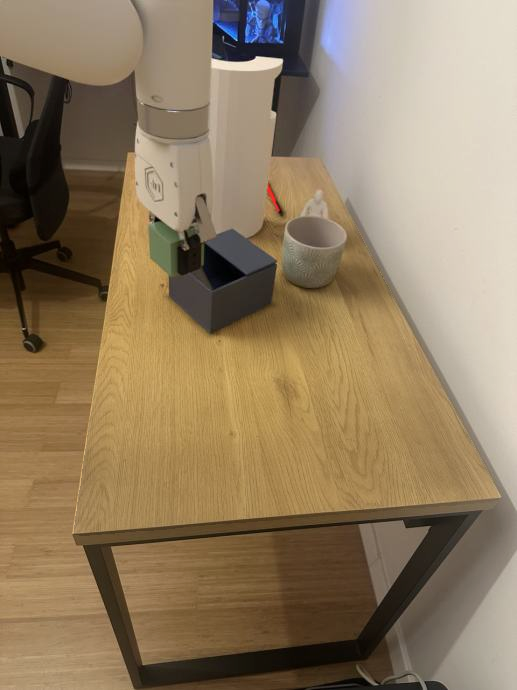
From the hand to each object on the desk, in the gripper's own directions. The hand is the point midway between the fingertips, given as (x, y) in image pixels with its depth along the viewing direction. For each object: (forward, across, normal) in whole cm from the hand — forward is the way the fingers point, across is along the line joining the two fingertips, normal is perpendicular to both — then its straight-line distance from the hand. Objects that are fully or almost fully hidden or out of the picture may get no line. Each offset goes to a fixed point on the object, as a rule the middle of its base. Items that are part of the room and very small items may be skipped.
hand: (176, 258), depth 65 cm
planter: (+24, -9, +38) cm, 46 cm away
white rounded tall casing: (+24, -34, +34) cm, 54 cm away
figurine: (+24, -18, +48) cm, 56 cm away
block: (0, 0, 0) cm, 0 cm away
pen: (+24, -39, +55) cm, 71 cm away
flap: (+10, -12, +9) cm, 18 cm away
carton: (+24, -13, +18) cm, 32 cm away
